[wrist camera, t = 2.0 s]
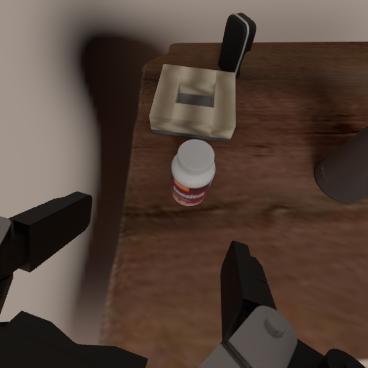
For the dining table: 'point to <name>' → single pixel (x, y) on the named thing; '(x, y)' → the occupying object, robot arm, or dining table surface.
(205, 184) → the pill bottle
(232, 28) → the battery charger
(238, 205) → the dining table surface
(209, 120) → the socket block
